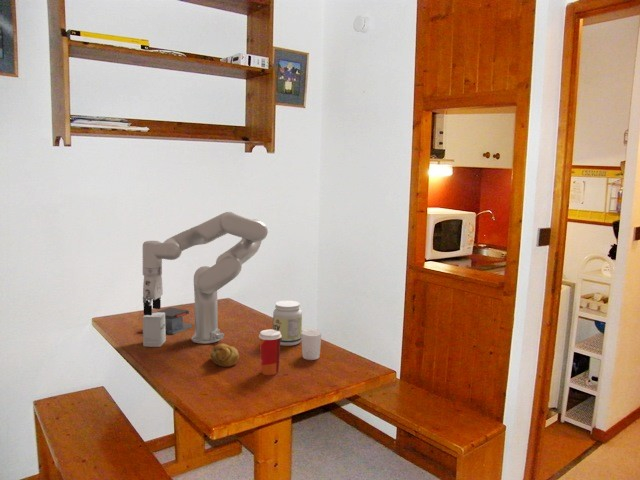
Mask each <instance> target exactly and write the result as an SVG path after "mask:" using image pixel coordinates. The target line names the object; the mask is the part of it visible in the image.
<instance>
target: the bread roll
mask: <svg viewBox="0 0 640 480" xmlns="http://www.w3.org/2000/svg"><path fill="white" fill-rule="evenodd" d="M209 356H210V359H211V361H212V362H213V363H214V365H216V366H218V367H223V368H226V367H231V366H234V365H236V364H237V363H238V361H239V359H240V354H239V351H238V349H237V348H236V347H235V346H230V345H228V344H226V343H218V344H215V345H214V346H213V347H212V349H211V351H210V354H209Z"/></svg>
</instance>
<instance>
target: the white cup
mask: <svg viewBox="0 0 640 480" xmlns="http://www.w3.org/2000/svg"><path fill="white" fill-rule="evenodd" d="M301 337H302V339H301V350H302V351H301V352H302V358H303V359H305V360H308V361H313V360H314V361H315V360H317V359H319V358H320V355H321V354H320V353H321V345H322V331H320V330H318V329H304V330H302V332H301Z"/></svg>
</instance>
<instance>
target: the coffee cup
mask: <svg viewBox="0 0 640 480" xmlns="http://www.w3.org/2000/svg"><path fill="white" fill-rule="evenodd" d="M281 337H282V335H281V333H280V331H277V330H273V328H272V329H271V328H270V329H263V330H261V331H260V332H259V335H258V338H259V349H260V364H261V366H260V367H261V368H260V369H261V374H262V375H263V376H264V375H265V376H275V375H277V374H279V366H280V353H281V345H280V340H281Z"/></svg>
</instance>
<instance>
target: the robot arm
mask: <svg viewBox="0 0 640 480" xmlns="http://www.w3.org/2000/svg"><path fill="white" fill-rule="evenodd" d="M268 233H269V231H268V226H267V225H266V224H265V223H264V222H262V221H260V220H258V219H254V218H249V217H244V216H241V215H240V214H236V213H234V212H232V211H225V212H223V213H221V214H218V215H216V216H215V217H213V218H210V219H208V220H206V221H203V222H201V223H200V224H198V225H196V226H193V227H190V228H188V229H186V230H184V231H182V232H178V233H177V234H175V235H173V236H171V237H169V238H166V240H164V241H163V242H161V241H158V240H146V241H144V242H143V243H142V276H143V283H142V303H143V316H145V315H152V312H153V310H161V305H162V303H161V302H162V301H161V297H162V296H163V293H164V292H163V278H162V275H163V260H167V261H168V260H169V261H174V260H177V259H179V258H180V256H181V255H182V252H183V251H185V250H187V249H189V248H192V247H195V246H199V245H201V246H202V245H207V244H209V243H211V242H214V241H215V240H217V239H219V238H221V237H223V236H225V235H228V234H229V235H232V236H235V237H238V238H241V239H240V240H239V241H238V242H237V243H236V244H235V245H233V246H232V247H230V248H229V249H227V250H226V251H225V252H223V253H221V254H219V255H218V256H217V258H216V260H215V264H213V265H212V266H207V265H204V266H200V267H198V268H197V269H196V270H195V272H194V274H193V291H194V295H193V296H194V334H193V335H192V336H191V337H190V338H191V341H192V342H193V343H195V344H196V343H197V344H204V345H205V344H213V343H217V342H219V341H221V340H223V339H224V337H225V332H221V331H220V328H218V319H219V317H218V291H219V290H220V289H221V288H223V287H225V286H226V285H228V284H229V283H230V282H232V280H234V279H236V278H237V277H238V276H239V274H241V271H242V267H243V265H244V264H245V263H247V261H249V260H250V259H251V258H253V256H254V255H256V253H257V252H258V251H259V249H260V247H261V244H262V241H264V240H265V239H266V237H267V236H268Z"/></svg>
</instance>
